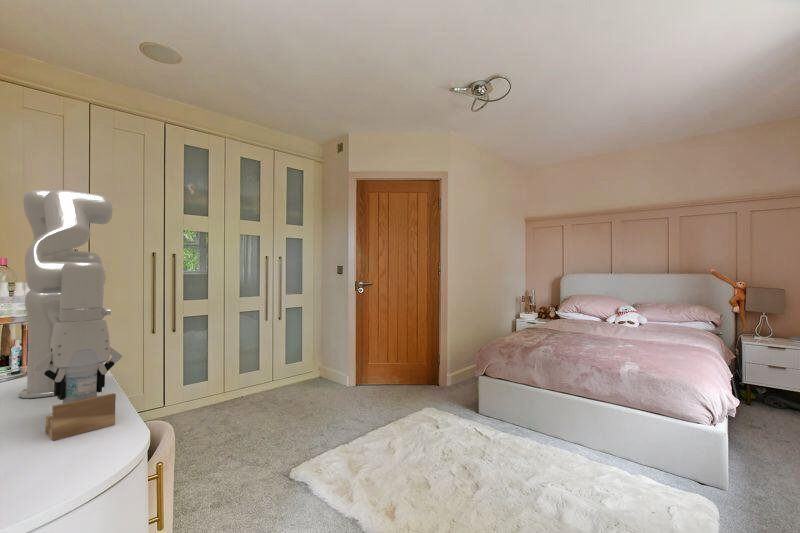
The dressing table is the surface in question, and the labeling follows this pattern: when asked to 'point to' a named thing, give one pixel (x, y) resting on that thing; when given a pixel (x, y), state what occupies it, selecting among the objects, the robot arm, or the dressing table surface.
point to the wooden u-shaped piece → (80, 416)
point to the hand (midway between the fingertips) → (80, 394)
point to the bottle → (81, 376)
